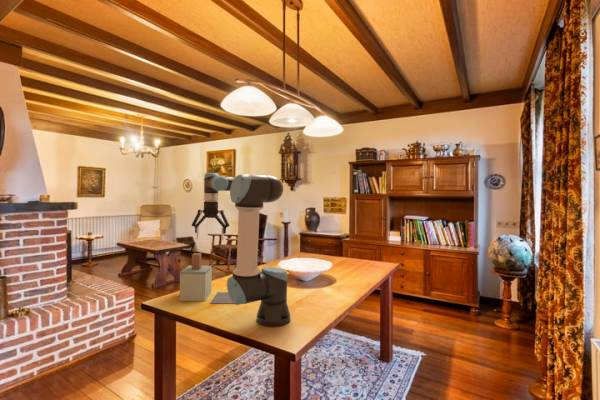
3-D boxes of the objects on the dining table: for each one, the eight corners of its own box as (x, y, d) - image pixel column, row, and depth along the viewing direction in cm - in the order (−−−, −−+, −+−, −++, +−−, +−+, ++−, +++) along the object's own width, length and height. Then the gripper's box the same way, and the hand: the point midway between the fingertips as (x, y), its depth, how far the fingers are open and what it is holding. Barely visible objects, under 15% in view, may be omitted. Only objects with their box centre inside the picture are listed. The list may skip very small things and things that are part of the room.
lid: (205, 276, 153) (205, 256, 153) (179, 276, 153) (180, 256, 152) (211, 269, 166) (212, 251, 166) (188, 269, 166) (188, 251, 165)
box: (205, 301, 154) (205, 274, 153) (179, 300, 153) (179, 274, 153) (211, 292, 167) (211, 267, 166) (188, 292, 166) (188, 267, 166)
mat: (241, 303, 151) (241, 303, 151) (210, 303, 150) (210, 302, 150) (246, 293, 167) (246, 292, 167) (217, 292, 166) (217, 292, 166)
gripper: (235, 201, 167) (234, 238, 167) (190, 200, 167) (190, 237, 167) (232, 201, 159) (231, 241, 160) (185, 200, 159) (185, 239, 160)
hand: (210, 239), depth 164 cm, fingers open, 13 cm apart
